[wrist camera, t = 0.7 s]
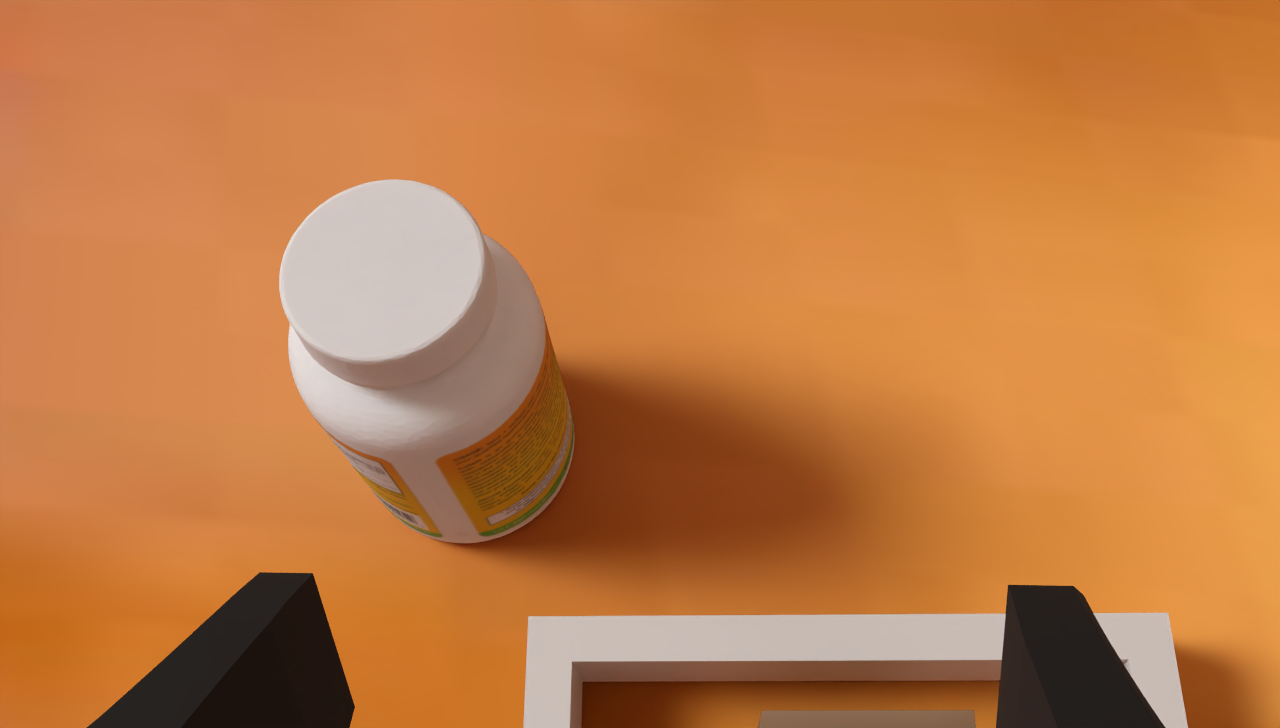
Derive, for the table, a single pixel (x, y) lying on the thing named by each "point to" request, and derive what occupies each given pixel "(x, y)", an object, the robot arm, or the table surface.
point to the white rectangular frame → (806, 653)
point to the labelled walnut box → (868, 719)
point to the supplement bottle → (427, 360)
